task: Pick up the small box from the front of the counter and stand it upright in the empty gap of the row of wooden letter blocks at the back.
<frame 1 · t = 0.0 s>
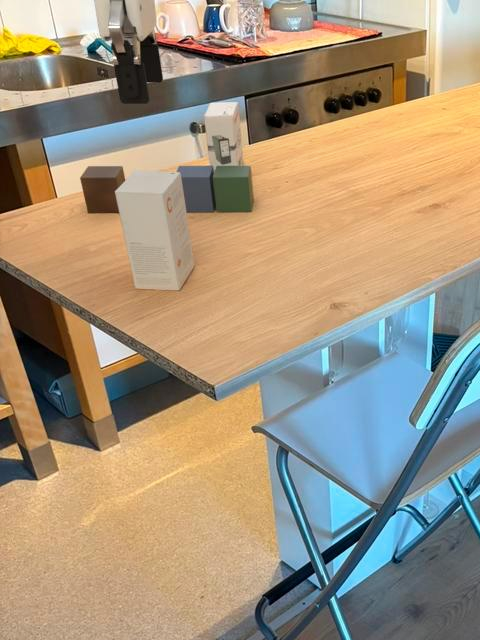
hand: (143, 91, 96), 23 cm above the breakfast bar, tool pointing down, fingers open, 9 cm apart
block c: (235, 205, 132), on the breakfast bar
small box: (165, 279, 111), on the breakfast bar
ink box: (229, 182, 141), on the breakfast bar
block b: (198, 206, 132), on the breakfast bar
block a: (108, 206, 131), on the breakfast bar
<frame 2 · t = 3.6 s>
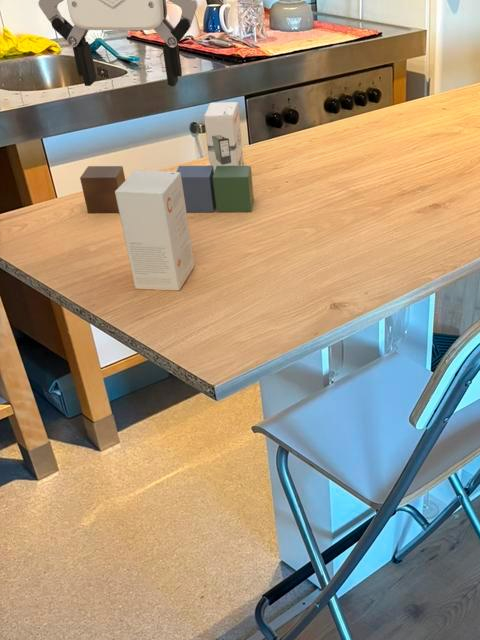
hand: (132, 83, 96), 24 cm above the breakfast bar, tool pointing down, fingers open, 9 cm apart
nothing on the breakfast bar moved.
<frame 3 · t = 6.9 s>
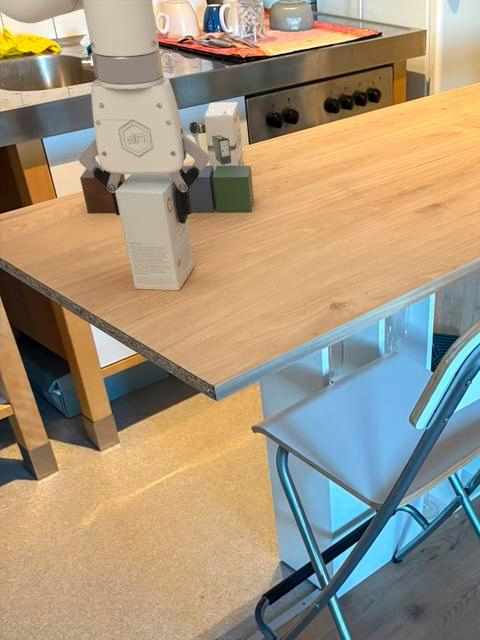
hand: (155, 218, 106), 8 cm above the breakfast bar, tool pointing down, fingers closed on small box, 6 cm apart
small box: (165, 278, 111), on the breakfast bar, touching gripper
everything else where it was.
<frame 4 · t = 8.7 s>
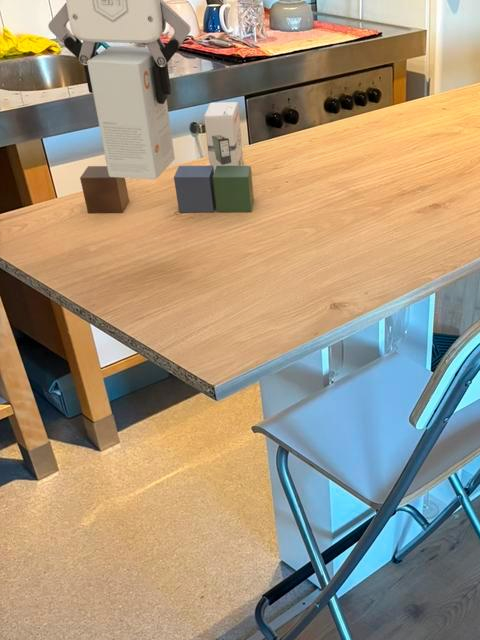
hand: (131, 99, 98), 22 cm above the breakfast bar, tool pointing down, fingers closed on small box, 6 cm apart
small box: (142, 169, 104), point 14 cm above the breakfast bar, touching gripper
everything else where it was.
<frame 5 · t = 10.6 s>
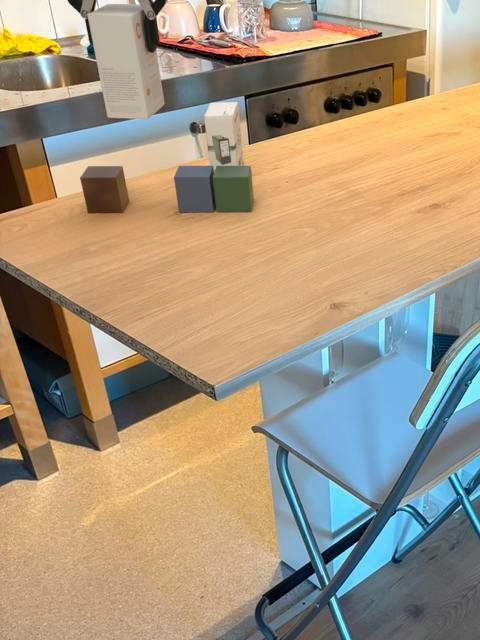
hand: (126, 49, 114), 23 cm above the breakfast bar, tool pointing down, fingers closed on small box, 6 cm apart
small box: (136, 113, 119), point 15 cm above the breakfast bar, touching gripper
everything else where it was.
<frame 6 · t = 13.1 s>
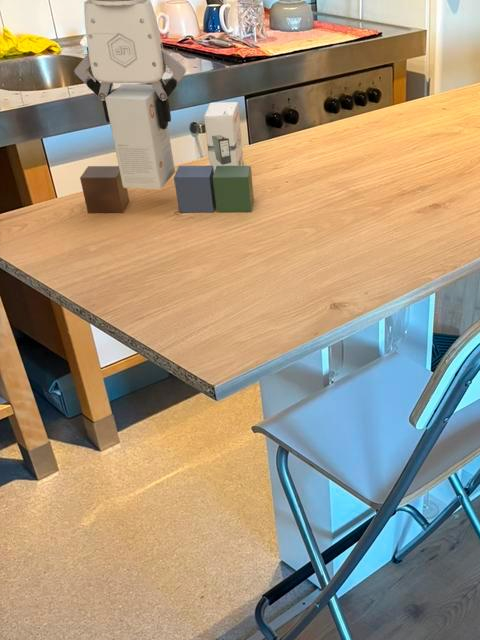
hand: (140, 125, 124), 12 cm above the breakfast bar, tool pointing down, fingers closed on small box, 6 cm apart
small box: (149, 181, 129), point 4 cm above the breakfast bar, touching gripper
everything else where it was.
when the fingers open (8 cm above the breakfast bar, at t = 14.8 s): small box stays where it is, on the breakfast bar.
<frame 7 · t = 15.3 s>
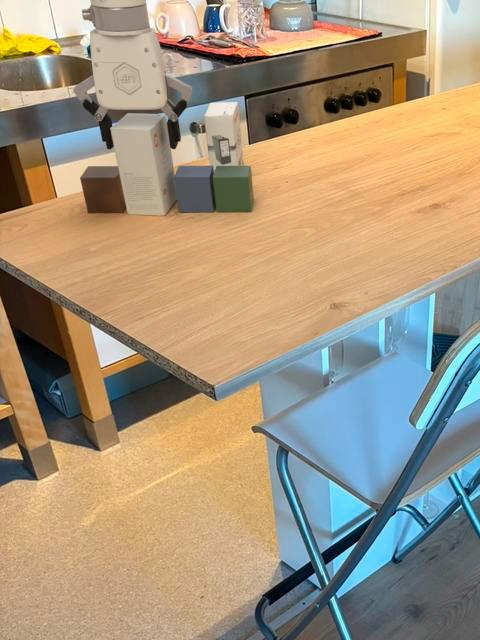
hand: (143, 146, 126), 9 cm above the breakfast bar, tool pointing down, fingers open, 9 cm apart
small box: (153, 207, 132), on the breakfast bar
everything else where it was.
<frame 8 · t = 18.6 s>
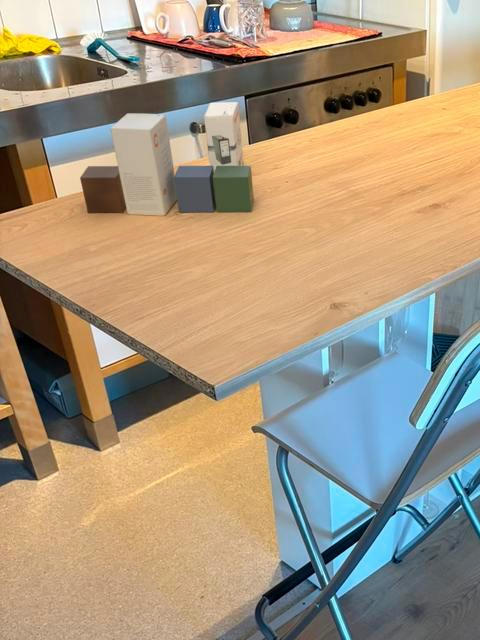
nothing on the breakfast bar moved.
at the end: small box 0.1 cm from the target spot, on the breakfast bar; small box tilted 0°; block b moved 0.0 cm from its start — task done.
